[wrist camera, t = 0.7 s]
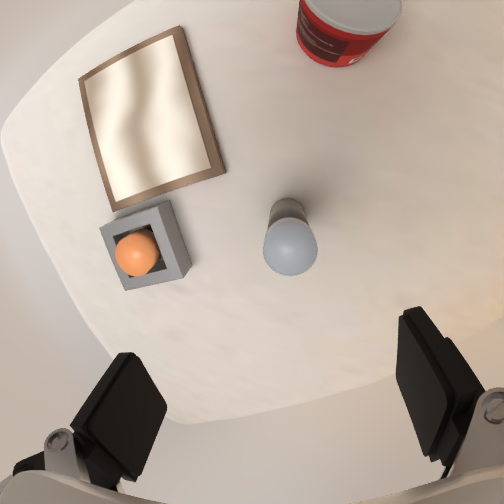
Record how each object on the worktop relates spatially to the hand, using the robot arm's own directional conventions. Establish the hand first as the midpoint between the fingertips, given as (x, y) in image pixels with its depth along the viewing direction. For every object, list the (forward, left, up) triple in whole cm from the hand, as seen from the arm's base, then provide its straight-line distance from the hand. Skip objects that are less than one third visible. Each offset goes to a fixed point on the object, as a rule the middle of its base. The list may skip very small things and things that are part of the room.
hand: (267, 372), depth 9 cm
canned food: (-11, -18, -23) cm, 31 cm away
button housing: (+15, -1, -23) cm, 27 cm away
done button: (+15, -1, -21) cm, 26 cm away
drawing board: (+11, -15, -23) cm, 29 cm away
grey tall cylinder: (-1, 0, -23) cm, 23 cm away
